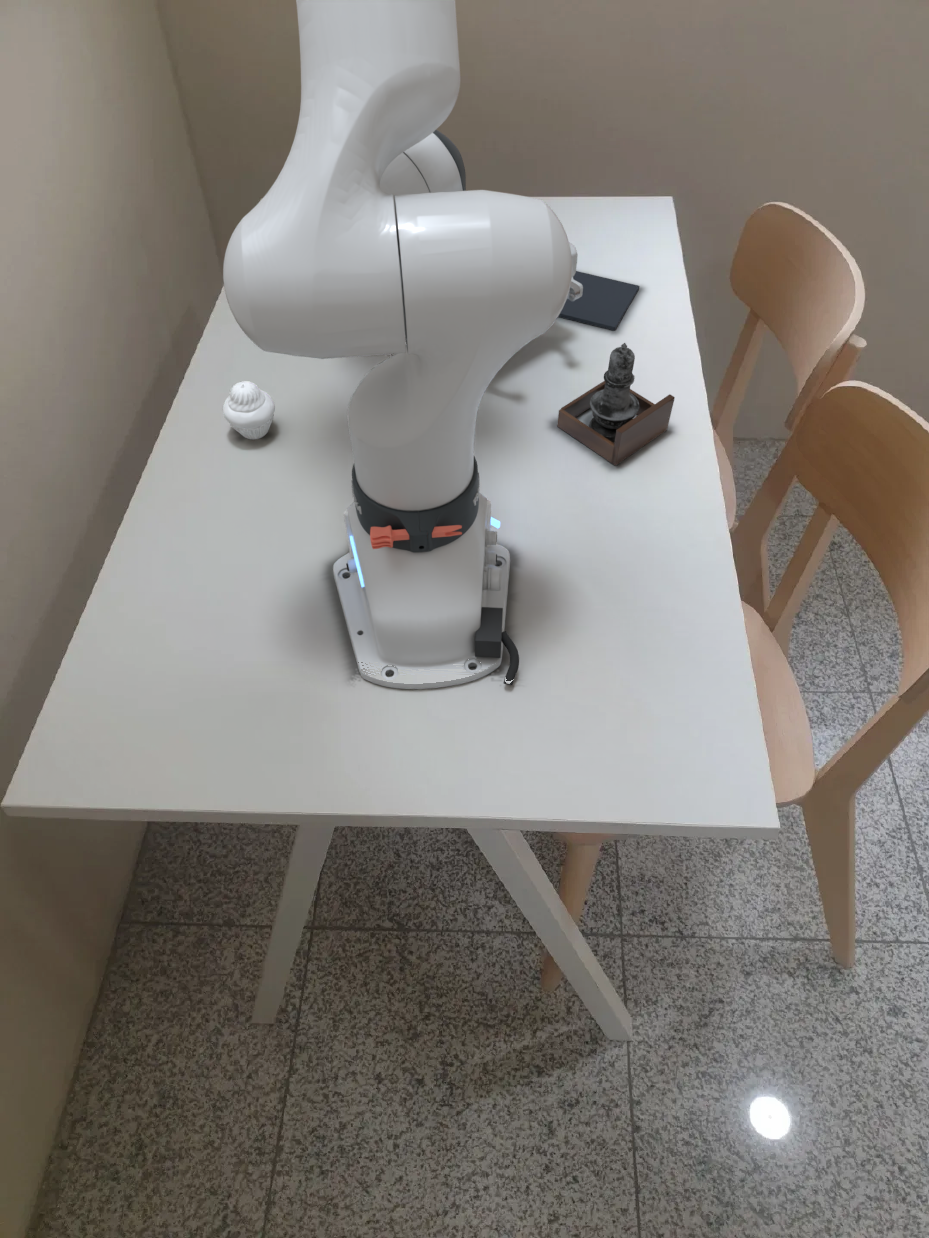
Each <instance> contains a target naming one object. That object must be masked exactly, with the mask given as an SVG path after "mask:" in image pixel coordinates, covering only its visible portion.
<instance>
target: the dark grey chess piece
mask: <svg viewBox="0 0 929 1238" xmlns="http://www.w3.org/2000/svg"><path fill="white" fill-rule="evenodd" d="M635 361H636V355H635V353H634V351H633V350H632V349H631V348H629V347H628V345H627V343H626V342H624V343H622V344H621V345H620V346H618V347H615V348H614V349H613V350H612V351H611V353H610V355H609V361H608V366H607V370H606V371H605V372H604V374H603V381H605V388H604V390H601V391H598V392H597V393H595V394H594V395H593V396H592V398H591V400H590V407H591V408H590V410H591V413H592V416H593V417H592V418H591V419H590V420H589V425H588V426H589V427H590V428H592V429H593V430H595V431H596V432H598V433H599V434H601V435H602V436H604V437H605V438H607V439H608V440H610V441H611V442H613V443H614V442H615V436H616V430H617V429H619V428H620V427H622V426H623V425H625V424H626V423H628V422H629V421H631V420H632V419H634V418H635V417H636V415H637V412H638V411H639V401H638V400H637V398H636V397H635V396H634V395H632V394H631V393H629V391H630V389H631V387H632V386H633V384H634V382H635V378H636V377H635V375H634V374H633V370H634V365H635ZM631 385H632V386H631Z"/></svg>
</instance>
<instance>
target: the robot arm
mask: <svg viewBox="0 0 929 1238" xmlns="http://www.w3.org/2000/svg"><path fill="white" fill-rule="evenodd" d="M295 3H296V15H297V26H298V27H297V28H298V39H299V40H298V41H299V58H300V59H299V61H300V106H299V109H300V110H299V115H298V121H297V127H296V130H295V133H294V137H293V142H292V145H291V147H290V151H289V153H288V155H287V158H286V160H285V162H284V164H283V167H282V168H281V170H280V173H279V174H278V176H277V178H276V179H275V181H274V182H273V184H272V185H271V187H270V188H269V189H268V191H267V192H266V193H265V194H264V196H263V197H262V198H261V199H260V201H259V202H257V204H256V205H255V206H254V207H253V208H252V209H251V210H249V212H248V213H246V214H245V215H244V216H243V217H242V218H241V220H240V221H239V223H238V224H237V225H236V226H235V229H233V231H232V234H231V235H230V238H229V240H228V242H227V245H226V249H225V253H224V258H223V267H222V279H223V280H222V281H223V288H224V293H225V298H226V302H227V304H228V308H229V310H230V312H231V314H232V316H233V318H234V320H235V322H236V323H237V325H238V326H239V328H240V330H241V331H242V332H243V334H244V335H245V336H246V337H247V338H248V339H249V340H250V341H251V342H252V343H253V344H254V346H256V347H257V348H259V349H260V350H261V351H263V352H268V353H272V354H280V355H286V356H292V357H301V358H302V357H303V358H310V359H319V360H324V359H326V360H327V359H328V360H329V359H340V358H341V359H343V358H353V357H354V358H355V357H369V356H381V355H391V356H390V357H388V358H386V359H385V360H383V361H381V362H380V363H377V365H375V366H374V367H373V368H372V369H371V368H370V370H369V371H368V372H367V373H366V374H365V375H364V376H363V378H361V380H360V382H359V383H358V384H357V386H356V387H355V390H353V393H352V395H351V397H350V398H349V399H350V400H349V402H348V405H347V413H346V414H347V415H346V418H347V427H348V432H349V433H348V434H349V439H350V446H351V450H352V451H351V452H352V453H351V454H352V459H353V464H352V469H351V492H352V498H353V502H352V503H351V504H350V505H349V506H348V507H347V508H346V510H345V511H344V512H343V519H344V524H345V530H346V537H347V542H348V548H349V552H347V553H346V554H344V555H342V556H341V557H339V558H338V559H336V560H335V562H334V563H333V566H332V569H333V570H332V573H333V578H334V583H335V586H336V591H337V595H338V598H339V601H340V604H341V609H342V612H343V613H342V614H343V616H344V621H345V623H346V627H347V628H346V629H347V631H348V636H349V639H350V642H351V643H350V644H351V646H352V649H353V653H354V657H355V661H356V664H357V668H358V672H359V675H360V677H361V678H362V679H364V680H366V681H368V682H370V683H372V684H375V685H379V686H382V687H386V688H392V689H401V690H423V689H436V688H445V687H451V686H457V685H463V684H466V683H469V682H472V681H476V680H478V679H481V678H484V677H485V676H487V675H489V674H491V673H492V672H494V671H495V670H497V669H498V668H499V667H500V666H501V665H502V661H503V652H504V647H505V648H506V650H507V653H508V655H509V665H508V668H507V671H506V673H505V676H504V680H503V684H504V685H507V686H513V685H514V681H515V678H516V676H517V673H518V670H519V666H520V655H519V650H518V647H517V646H516V644H515V642H514V640H513V639H512V638H511V637H510V635H509V633H508V632H507V631H506V630H505V627H506V617H507V615H506V614H507V606H508V605H507V604H508V592H509V581H510V568H511V555H510V551H509V550H508V549H507V548H506V547H505V546H503V545H501V544H499V543H497V542H498V531H496V530H492V526H493V527H494V528H496V529H500V527H501V521H500V520H498V519H496V518H494V517H493V516H492V501H491V500H489V499H488V498H487V497H486V496H485V495H483V494H482V493H481V492H480V491H481V490H480V488H481V487H480V486H481V483H480V472H479V467H478V461H477V458H476V456H475V436H476V426H477V417H478V411H479V406H480V403H481V401H482V398H483V396H484V394H485V392H486V390H487V389H488V387H489V386H490V384H491V382H492V381H493V379H494V378H495V377H496V375H497V374H498V372H500V370H501V369H502V368H503V367H504V366H505V364H506V363H507V362H508V361H509V360H510V359H511V358H512V357H513V356H514V355H516V353H517V352H519V351H520V350H521V349H523V348H524V347H525V346H526V345H528V344H529V343H530V342H532V341H533V340H535V339H537V338H538V337H540V336H541V335H543V334H545V333H546V332H547V331H548V330H549V329H550V328H551V327H552V326H553V324H554V323H555V322H556V320H557V319H558V318H559V317H558V316H559V314H560V312H561V310H562V309H563V307H564V304H565V302H566V300H567V299H570V301H574V300H576V299H578V298H580V297H581V296H582V292H583V286H582V284H581V283H579V282H577V281H575V280H574V279H573V276H574V275H575V273H576V271H577V268H578V267H577V265H578V250H577V248H576V246H575V245H574V244H573V243H571V242H570V241H569V237H568V234H567V232H566V229H565V228H564V226H563V223H562V221H561V220H560V218H559V217H558V215H557V214H556V213H555V211H554V209H552V208H551V206H550V205H549V204H548V203H546V201H545V200H543V199H541V198H538V197H537V198H536V197H531V196H526V195H520V194H515V193H509V192H502V191H494V190H487V189H472V190H471V189H470V190H467V189H466V188H467V187H466V186H467V185H466V184H467V175H466V168H465V167H466V166H465V163H464V159H463V157H462V154H461V151H460V150H459V148H458V147H457V146H456V144H455V143H454V142H453V141H452V140H451V139H450V138H449V137H447V136H446V135H445V134H444V133H442V131H439V130H438V129H439V128H440V127H441V126H442V125H443V123H444V122H446V120H447V119H448V117H449V116H450V115H451V113H452V111H453V109H454V107H455V105H456V103H457V100H458V97H459V93H460V89H461V80H462V79H461V65H460V63H461V62H460V50H459V36H458V23H457V22H458V21H457V9H456V8H457V6H456V0H295ZM468 659H469V660H468ZM358 662H359V663H358ZM361 662H363V663H361ZM369 662H370V663H373V664H369ZM374 662H378V663H374ZM480 662H481V663H480ZM365 663H366V664H368V665H366V664H365ZM380 663H381V664H383V665H380ZM495 663H496V664H495ZM374 664H376V665H379V666H375V665H374ZM453 664H464V665H453ZM492 664H494V665H492ZM362 665H364V666H362ZM370 665H371V666H374V667H371V666H370ZM388 665H392V666H388ZM381 666H382V667H381ZM394 666H395V667H394ZM456 666H463V667H456ZM490 666H491V667H490ZM367 667H369V668H367ZM376 667H377V668H380V669H382V671H381V676H382V677H383V678H384V679H386V680H393V679H395V678H396V677H397V676H398V674H399V673H398V669H401V670H405V669H412V670H416V671H419V670H418V669H424V670H430V669H465V670H466V671H462V672H470V673H435V672H430V671H444V672H453V671H448V670H430V671H421V672H414V673H418V674H423V673H422V672H426V673H433V674H437V675H438V674H474V673H477V674H475V675H472V676H469V677H465V678H461V679H456V680H451V681H444V682H436V683H423V684H404V683H393V682H387V681H383V680H379V679H376V678H373V677H370V676H368V675H371V674H374V675H376V674H375V673H371V674H368V675H366V673H365V674H364V673H363V672H362V671H361V669H363V668H365V669H367V670H368V669H375V670H378V669H377V668H376ZM488 667H490V668H488ZM470 668H475V669H470ZM480 669H486V670H484V671H482V670H481V671H482V672H480V673H479V672H478V671H479V670H480ZM363 671H365V670H363ZM370 671H373V672H374V670H370ZM378 671H379V670H378ZM405 671H409V672H412V671H411V670H405ZM366 672H368V671H366ZM399 672H403V673H405V672H404V671H399ZM454 672H457V671H454ZM368 673H370V672H368ZM376 673H379V674H380V672H376ZM414 673H407V674H411V675H415V674H414ZM388 675H392V676H388ZM400 675H406V674H400ZM424 675H431V674H424ZM442 677H446V676H442ZM505 677H506V679H507V680H506V681H511V680H513V679H514V680H513V681H512V682H511V683H510V684H506V682H505Z"/></svg>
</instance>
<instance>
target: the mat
mask: <svg viewBox="0 0 929 1238" xmlns="http://www.w3.org/2000/svg"><path fill="white" fill-rule="evenodd" d="M573 279H574V280H575V281H577V282H579V283H581V284H582V286H583V292H582V296H581V297H580V298H578V299H576V300H574V301H570V299H567V300H566V302H565V304H564V307H563V309H562V310H561V312H560V314H559V316H558V317H557V318H561V319H565V320H570V321H574V322H577V323H582V324H586V325H589V326H594V327H598V328H602V329H605V330H609V331H616V329H617V328H618V327H619V324H620V323H621V321H622V319H623V317H624V316H625V314H626V312H627V310H628V308H629V307H630V306H631V303H632V302H633V300H634V299H635V297H636V295H637V294H638V292H639V290H640V285H638V284H634V283H630V282H624V281H620V280H617V279H613V278H607V277H604V276H599V275H595V274H590V273H587V272H582V271H579V270H576V273H575V275H574V276H573Z"/></svg>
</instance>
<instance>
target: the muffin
mask: <svg viewBox="0 0 929 1238" xmlns="http://www.w3.org/2000/svg"><path fill="white" fill-rule="evenodd" d="M275 411H276V404H275V400H274V399H273V398H272V396H271V395H270V394H269V393H268V392H267V391H265V390H263V389H260V387H259V385H257V383H255V382H252V381H250V380H248V381H247V380H243V381H239V382H236V383H235V384H233V385H232V386H231V388H230V389H229V396H228V397H226V399H225V401H224V402H223V406H222V414H223V417H224V418H225V420H226V421H227V422H228V424H229V426H231V428H232V429H233V430H235V431H236V432H238V433H239V434H240V435H241V436H242V437H243V438H245V439H248V440H251V441H252V440H259V439H261V438H263V437H265V436H266V435H267V434H268V433H269V429H270V427H271V425H272V423H273V420H274V416H275Z"/></svg>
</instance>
